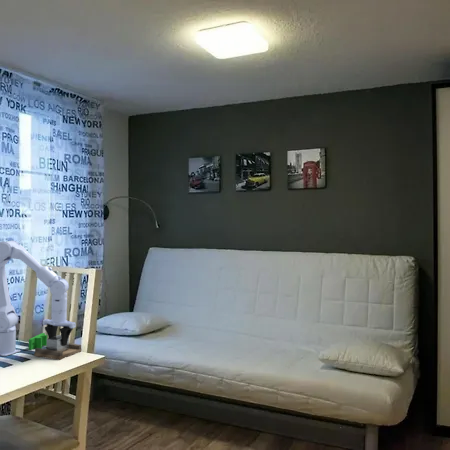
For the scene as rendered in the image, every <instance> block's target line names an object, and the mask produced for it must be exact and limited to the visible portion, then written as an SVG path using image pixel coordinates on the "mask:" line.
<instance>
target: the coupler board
mask: <svg viewBox="0 0 450 450" xmlns="http://www.w3.org/2000/svg"><path fill="white" fill-rule="evenodd" d="M79 353H82V344H78V343H70V342H69V349H67V350H64V351H56V350H49V349H47V348H43V347H42V348H34V354H33V355H34V356H33V357H38V358H39V357H40V358H46V359H51V360H52V359H53V360H58V361H60V360H62V359H65V357H66V358H68V357H71V356H72V355H76V354H79Z"/></svg>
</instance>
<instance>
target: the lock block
mask: <svg viewBox="0 0 450 450" xmlns="http://www.w3.org/2000/svg"><path fill="white" fill-rule="evenodd" d="M69 343H70V337H69V338H68V341H67V345H65V346H62V342H61V334H56V336H54V337H51V338H49V337H47V346H46V349H49V350H56V351H64V350H67V349H69Z"/></svg>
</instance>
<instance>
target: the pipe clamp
mask: <svg viewBox="0 0 450 450" xmlns="http://www.w3.org/2000/svg"><path fill="white" fill-rule="evenodd" d="M47 339H48V334H46V332H42V333H40V334H37V335H35V336H33V337H31V338H29V339H28V350H29V351H32V350H35V349H36V348H42V349H43V347H47Z"/></svg>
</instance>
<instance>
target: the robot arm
mask: <svg viewBox="0 0 450 450" xmlns="http://www.w3.org/2000/svg"><path fill="white" fill-rule="evenodd" d="M11 259H14V260H20V261H21V262H23V263H24V264H25V265H27V266H28V268H30V269H32V270H33V272H35V275H36V278H37V279H38V280H39V281H41V282H42V283H43V284H44V285H45V286H46V287H47V288H49V292H50V293H51V313H50V314H51V316H50V317H51V319H49V318H45V319H42V325H43V326H45V327H44V331H46V332H45V333H46V335H47V337H48V338H51V337H54V336H57V333H58V328H59V327H60V328H59V332H60V335H61V342H62V346H65V345H67V341H68V338H69V339H70V335H71V333H72V331H73V330H74V328H76V322H74V321H70V320H67V319H68V318H67V317H68V316H67V315H68V314H67V313H68V312H67V311H68V290H69V289H70V284H69V282H68V280H67V279H65V278H62V276H61V275H58V274H57V273H56V272H54V270H53V268H52V267H51V266H47V265H42V264H41V263H40V262H39V261H38V260H37V259H36V258H35V257H34V256H33V255H32V254H30V252H29V251H27V249H26V248H25V247H24V246H23V245H21V244H20V243H19V242H17V240H9V241H3V240H2V241H0V356H2V357H7V356H10V355H13V354H17V353H19V352H21V351H22V349H21V350H20V349H17V348H16V343H17V341H16V340H17V339H16V338H17V329H16V328H17V327H16V326H17V324H19V315H18V314H17V313H16V310H15V307H14V305H12V302H11V296H10V291H9V285H8V279H7V278H8V277H7V272H6V271H7V270H6V267H5V266H6V265H7V263H8V262H9V261H10V260H11Z"/></svg>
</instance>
